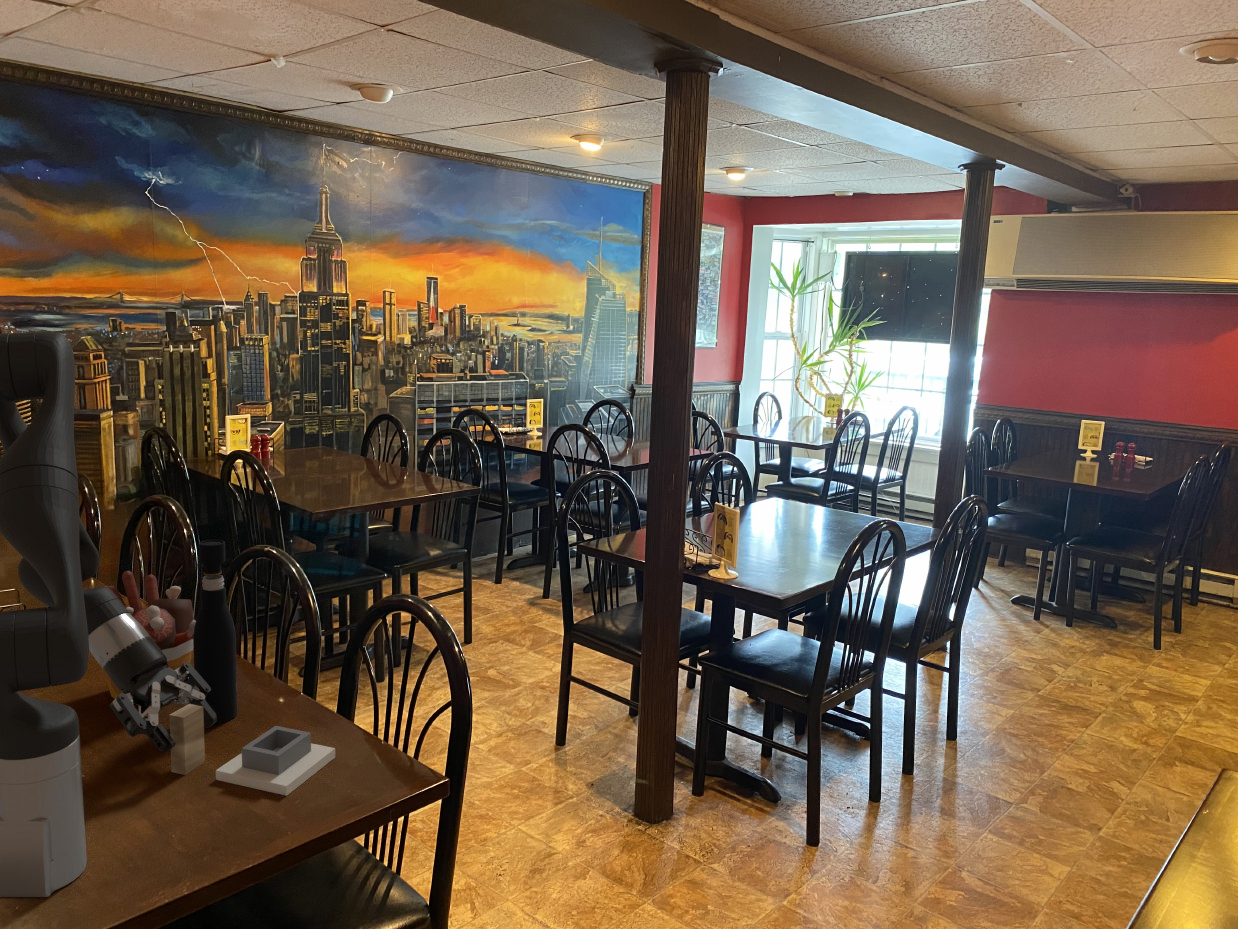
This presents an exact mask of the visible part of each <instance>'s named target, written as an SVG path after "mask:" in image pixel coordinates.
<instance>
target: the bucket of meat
mask: <svg viewBox="0 0 1238 929" xmlns="http://www.w3.org/2000/svg"><path fill="white" fill-rule="evenodd" d="M121 579H122V583H123V587H124V590H125V593H126V597H127V598H126V599H127V600H128V604H129V606H126V603H125V601H124V599H123V597H122V595H121V593H120V591H119V589H118V588H117V587H116V586H114V585H109V586H107V587H106V588H109V589H110V590H111V591H112V592H113V593H114V594H115V595H116V596H117V597H118V599H119V600H120V601H121V603H122V604H123V605H124V606H125V608H126V609H127V610H128V611H129V613H130V614H131V615H132V616H133V617H134V618H135V619H136V620H137V621H138V622H139V623H140V624H141V625H142V626H143V628H144V629H145V630H146V632H147V633H148V634H149V635H150V637H151V638H152V639H153V640H154V642H155V643H156V644H157V646H158V647H159V648H160V649H161V651H162V652H163V653H164V654H165V656H166V657H167V665H168V666H169V667H170V668H171V669H173V670H176V669H177V668H179V667H180V666H181V665H182V664H183V663H184V662H189V663H190V664H191V661H192V656H193V653H194V648H193V634H194V628H195V623H196V619H195V617H194V616H195V615H194V610H193V604H192V602H193V601H192V600H191V599H187V598H185V599H184V598H183V599H182V598H178V597H179V595H180V593H181V591H182V588H181V586H177V585H174V586H173V585H172V586H170V587H169V588H168V589H166V590H165V595H166V596H167V597H168V598H160V595H159V588H158V580H157V579H158V578H157V577H156V576H155V575H153V574H148V575H146V576H145V578H144V587H145V592H146V593H145V594H146V601H147V607H144V608H143V605H142V602H141V598H140V594H139V591H138V587H137V583H136V580H135V576H134V573H133V572H132V571H130V570H126V571H123V572H122V576H121ZM101 668H102V667H101ZM102 672H103V675H104V678H105V681H106V684H107V686H108V690H109V693H110V696H111V698H113V700H115V699H116V698H117V697H118V696H119V695H120V694H121V693H124V694H126V692H125V691H121V690H119V689H118V688H117V686H116V685H115V684H114V682H113V681H112V680H111V679H110V677H109V676H108V675H107V673H106V672H105V671H104V670H103V668H102ZM181 692H182V691H180V690H179V694H180V693H181ZM133 705H134V703H133ZM134 706H135V705H134Z"/></svg>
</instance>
